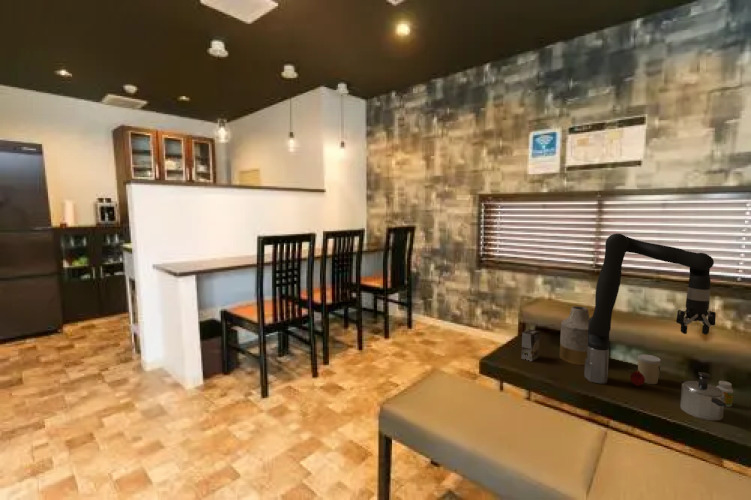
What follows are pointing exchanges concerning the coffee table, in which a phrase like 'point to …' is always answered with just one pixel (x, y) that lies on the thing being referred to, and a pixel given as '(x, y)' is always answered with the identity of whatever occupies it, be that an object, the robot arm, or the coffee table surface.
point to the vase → (575, 336)
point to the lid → (703, 386)
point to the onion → (637, 378)
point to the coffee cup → (649, 368)
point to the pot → (702, 404)
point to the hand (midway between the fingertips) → (694, 333)
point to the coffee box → (530, 344)
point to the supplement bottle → (726, 392)
